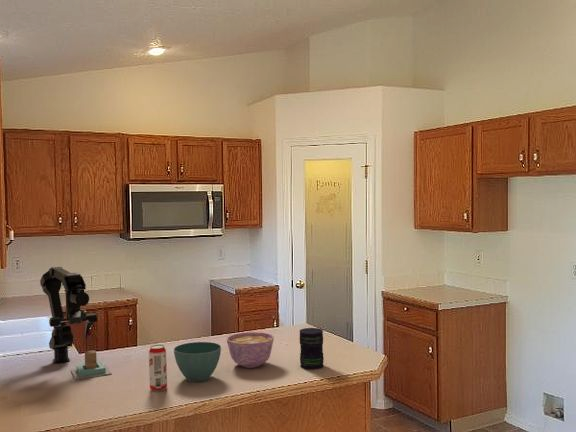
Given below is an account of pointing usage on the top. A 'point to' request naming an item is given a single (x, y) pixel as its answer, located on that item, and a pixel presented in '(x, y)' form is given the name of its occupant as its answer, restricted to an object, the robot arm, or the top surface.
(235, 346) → the bowl of food
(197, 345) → the teal bowl
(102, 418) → the top surface
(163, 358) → the beer can
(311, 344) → the storage jar
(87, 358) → the walnut peg
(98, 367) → the socket block
